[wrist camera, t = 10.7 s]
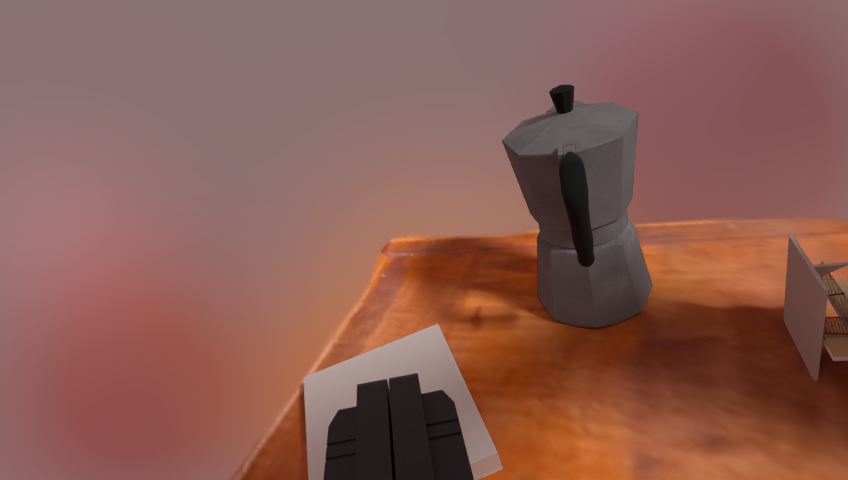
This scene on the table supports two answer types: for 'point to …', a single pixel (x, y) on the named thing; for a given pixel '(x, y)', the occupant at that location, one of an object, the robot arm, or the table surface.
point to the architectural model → (814, 308)
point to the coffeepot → (582, 209)
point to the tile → (394, 359)
